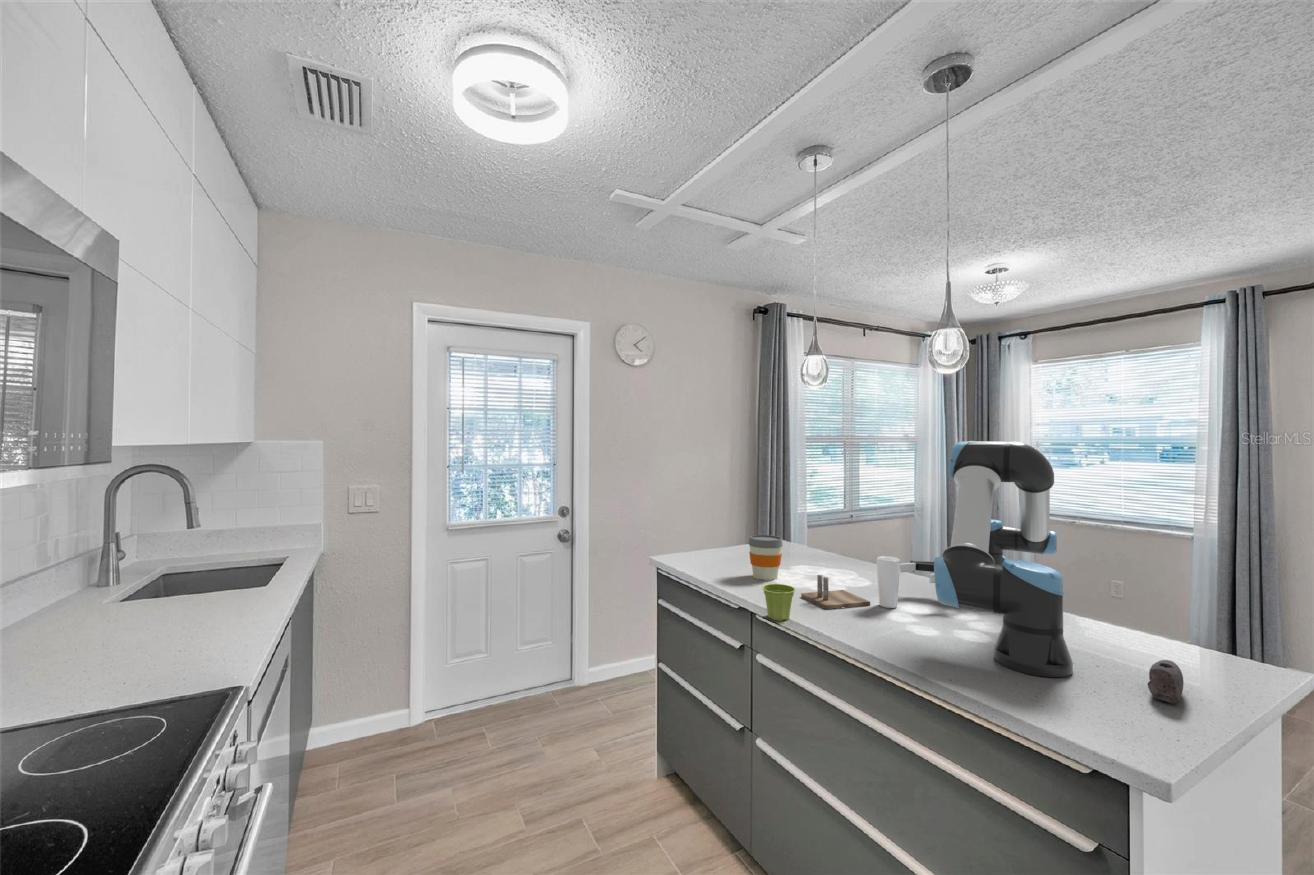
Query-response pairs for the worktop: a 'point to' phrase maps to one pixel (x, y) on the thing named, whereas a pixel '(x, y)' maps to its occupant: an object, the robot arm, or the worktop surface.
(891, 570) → the white tall cylinder
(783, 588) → the plant pot
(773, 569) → the reusable coffee cup
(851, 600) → the board
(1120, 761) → the worktop surface
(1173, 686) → the perforated stone tool
